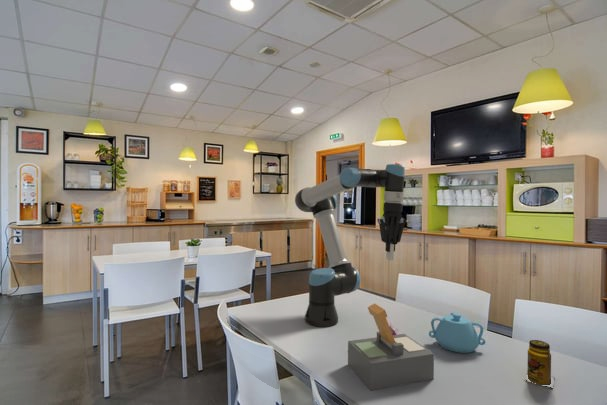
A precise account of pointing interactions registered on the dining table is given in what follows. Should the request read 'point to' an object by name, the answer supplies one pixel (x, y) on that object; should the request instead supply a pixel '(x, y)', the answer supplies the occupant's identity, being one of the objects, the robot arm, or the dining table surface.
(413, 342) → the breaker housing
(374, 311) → the breaker lever
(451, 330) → the teapot
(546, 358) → the condiment
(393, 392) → the dining table surface
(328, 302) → the robot arm
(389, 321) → the lily
